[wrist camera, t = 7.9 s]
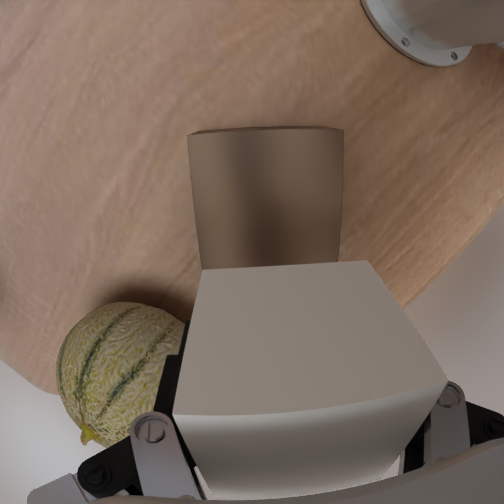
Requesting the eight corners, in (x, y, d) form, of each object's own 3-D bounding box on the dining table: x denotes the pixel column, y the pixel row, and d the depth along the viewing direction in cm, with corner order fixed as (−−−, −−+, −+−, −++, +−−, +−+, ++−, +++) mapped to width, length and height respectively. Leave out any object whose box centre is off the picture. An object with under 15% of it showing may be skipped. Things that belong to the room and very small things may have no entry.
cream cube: (367, 260, 11) (448, 379, 5) (346, 370, 13) (380, 478, 8) (202, 269, 11) (171, 414, 5) (220, 380, 13) (215, 498, 8)
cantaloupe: (239, 358, 33) (239, 479, 19) (138, 383, 35) (111, 481, 21) (173, 250, 27) (118, 377, 13) (67, 297, 29) (1, 395, 15)
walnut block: (324, 126, 22) (343, 130, 18) (319, 278, 28) (332, 310, 24) (198, 131, 22) (187, 135, 18) (214, 284, 28) (209, 317, 24)
